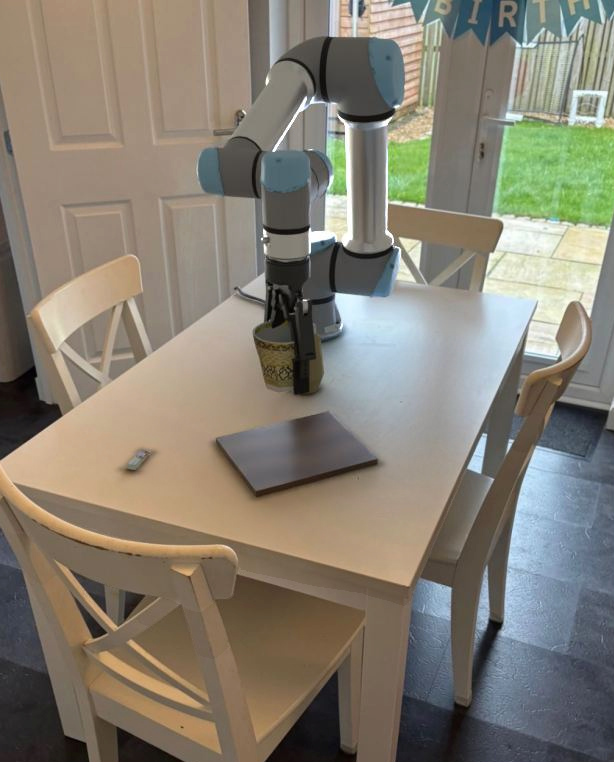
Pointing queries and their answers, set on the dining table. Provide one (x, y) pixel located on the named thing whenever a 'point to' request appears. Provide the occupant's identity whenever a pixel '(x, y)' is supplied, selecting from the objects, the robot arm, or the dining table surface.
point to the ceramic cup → (275, 355)
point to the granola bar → (137, 460)
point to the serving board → (294, 452)
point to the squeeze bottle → (316, 365)
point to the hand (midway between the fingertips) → (289, 381)
